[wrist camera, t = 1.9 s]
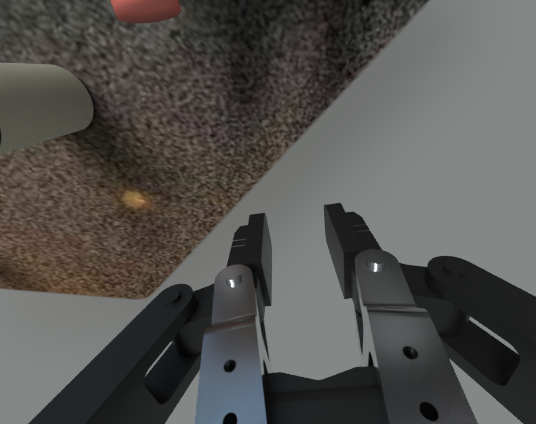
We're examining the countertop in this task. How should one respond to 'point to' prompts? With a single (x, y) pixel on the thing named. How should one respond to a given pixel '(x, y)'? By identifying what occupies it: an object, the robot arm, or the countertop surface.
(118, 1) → the red button
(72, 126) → the travel mug
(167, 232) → the countertop surface
